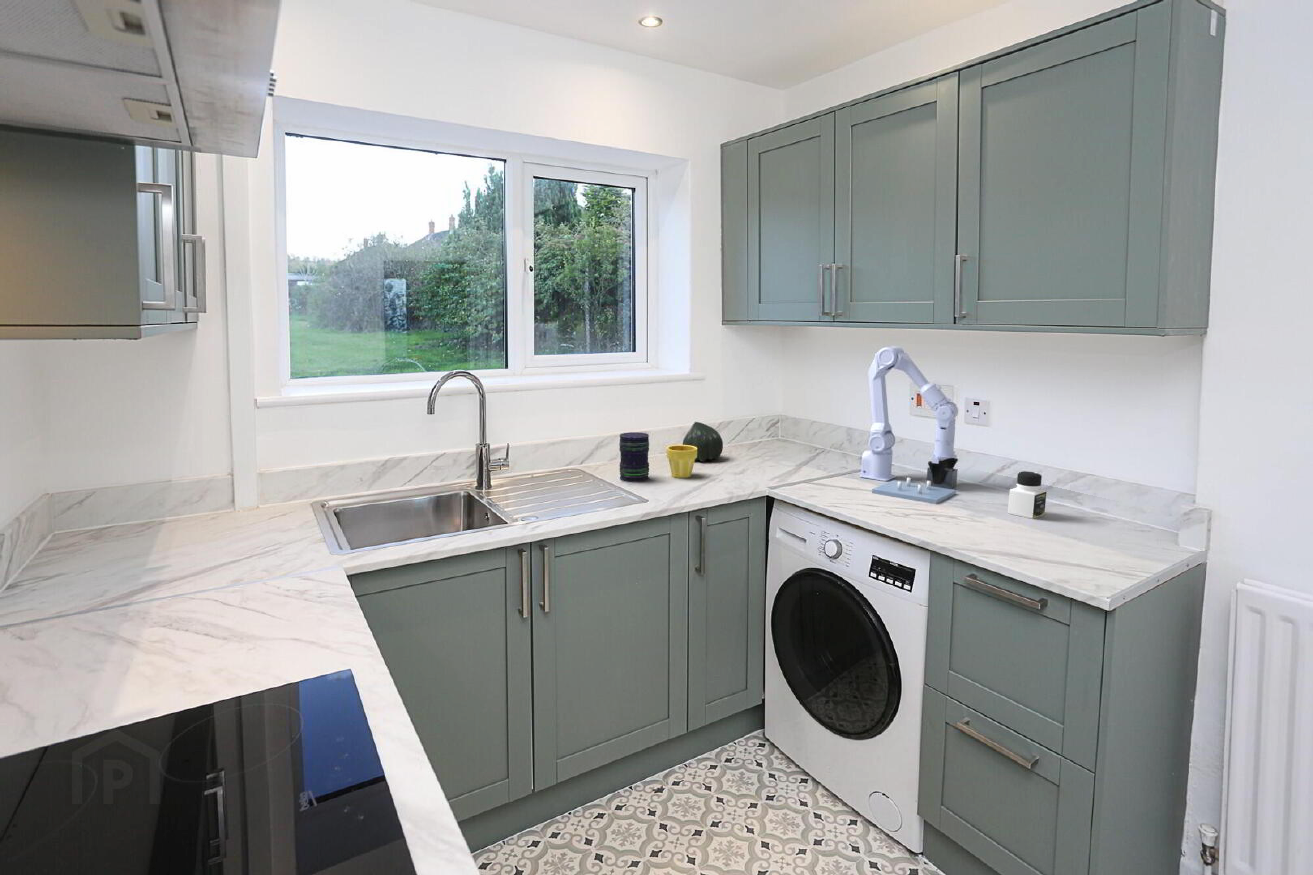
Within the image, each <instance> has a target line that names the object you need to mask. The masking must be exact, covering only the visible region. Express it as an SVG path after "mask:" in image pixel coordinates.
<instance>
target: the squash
mask: <svg viewBox="0 0 1313 875" xmlns="http://www.w3.org/2000/svg"><path fill="white" fill-rule="evenodd" d="M682 445H689V446H694V447H696V448H697V458H696V459H695V461H694V462H699V461H700V462H707V460H708V461H709V460H714V461H715V460H716V459H718V458H719V457H720V456H721V455H722V453H723V449H724V443H723V438H722V436H721V434H720V433H719V432H718V431H717V430H716V429H715V428H713V427H712V426H709V425H707V424H705V423H703V422H699V421H694V422H693V424H692V425H691V427H690V429H689V430H688V431H687V433H686V434H685V436H684V438H683V440H682Z"/></svg>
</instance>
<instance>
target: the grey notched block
mask: <svg viewBox="0 0 1313 875" xmlns="http://www.w3.org/2000/svg"><path fill="white" fill-rule="evenodd" d="M958 472H959V471H958V468H945V471H944V473H943V478H942V482H941V484H940V485H938V484H934V483H933V477H932V472H931V469H930V467H929V466H928V467H927V472H926V483H925V485H927V481H931V486H933V487H939V488H946V489H952V490H954V489H955V488H957V482H958ZM953 488H954V489H953Z"/></svg>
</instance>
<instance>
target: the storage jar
mask: <svg viewBox="0 0 1313 875" xmlns="http://www.w3.org/2000/svg"><path fill="white" fill-rule="evenodd" d="M649 437H650V435H649V433H646V432H622V433H620V434H619V452H620V462H619V476H620V477H619V480H620V481H622V482H625V483H627V482H628V483H643V482H647V481H648V480H649V478H650V477H649V472H650V462H649V451H650V442H649V441H650V438H649Z"/></svg>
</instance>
